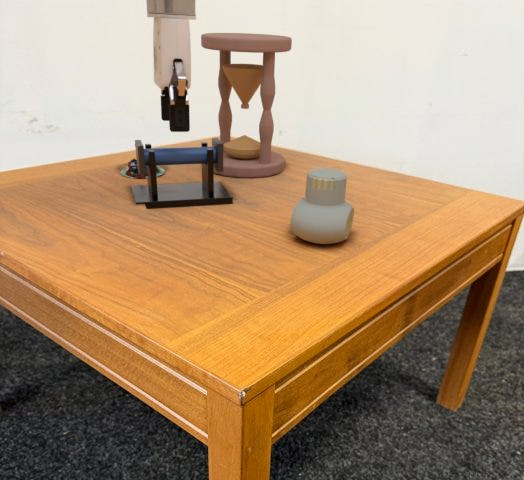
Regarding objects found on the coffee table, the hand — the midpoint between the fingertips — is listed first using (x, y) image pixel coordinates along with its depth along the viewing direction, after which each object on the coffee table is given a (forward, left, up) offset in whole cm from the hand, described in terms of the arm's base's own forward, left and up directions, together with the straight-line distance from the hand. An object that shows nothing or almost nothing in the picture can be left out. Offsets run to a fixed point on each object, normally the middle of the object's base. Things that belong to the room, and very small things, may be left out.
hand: (175, 125), depth 93 cm
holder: (0, 0, -13) cm, 13 cm away
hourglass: (+17, +19, -13) cm, 29 cm away
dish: (-5, +18, -13) cm, 23 cm away
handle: (+1, 0, -8) cm, 8 cm away
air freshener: (+18, -24, -13) cm, 33 cm away
